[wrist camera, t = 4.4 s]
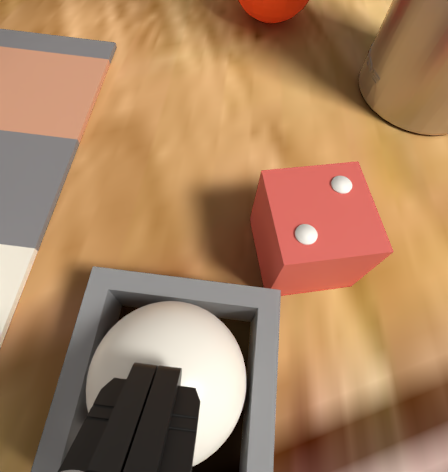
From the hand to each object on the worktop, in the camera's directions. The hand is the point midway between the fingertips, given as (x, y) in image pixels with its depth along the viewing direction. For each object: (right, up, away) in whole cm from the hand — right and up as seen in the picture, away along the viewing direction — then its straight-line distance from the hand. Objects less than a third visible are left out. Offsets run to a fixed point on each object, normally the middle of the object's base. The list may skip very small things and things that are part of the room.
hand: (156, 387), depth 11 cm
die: (+7, +4, +10) cm, 12 cm away
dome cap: (0, -3, +6) cm, 7 cm away
